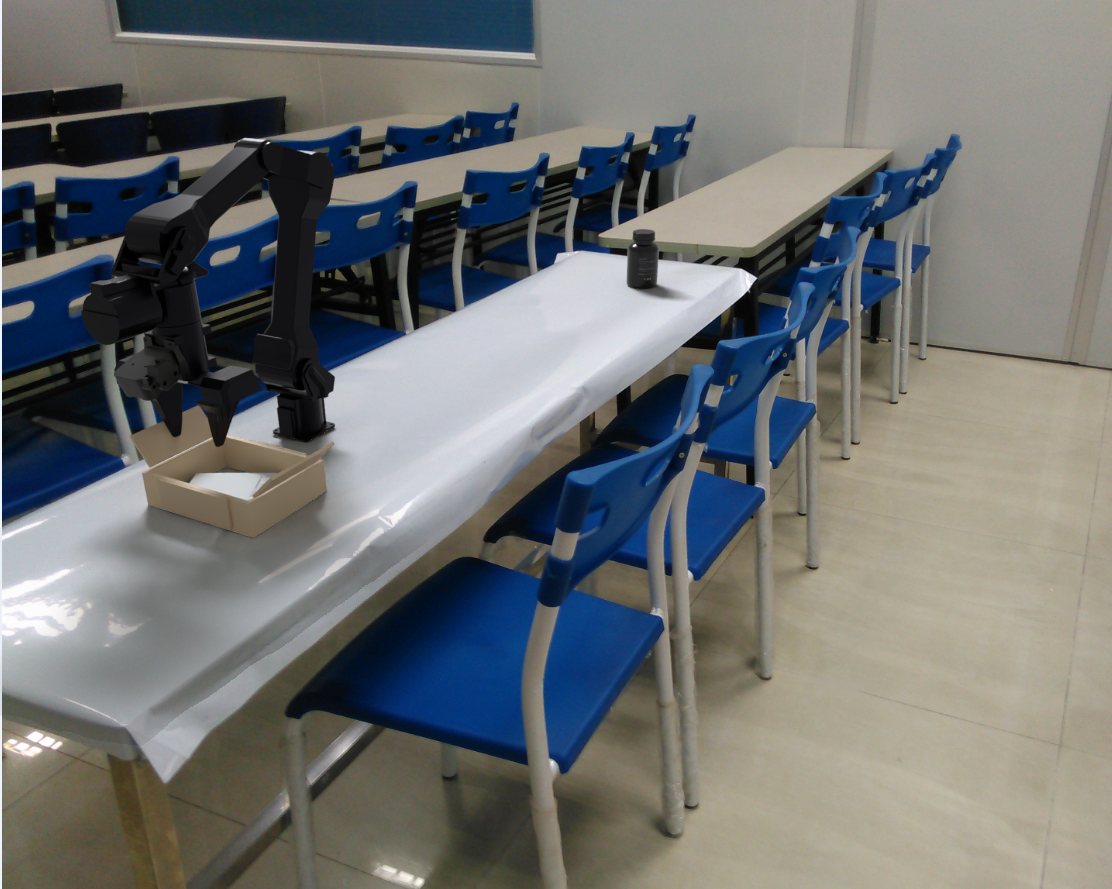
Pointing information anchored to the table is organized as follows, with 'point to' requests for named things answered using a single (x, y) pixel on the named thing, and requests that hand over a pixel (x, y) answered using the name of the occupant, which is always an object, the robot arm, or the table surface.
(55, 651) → the table surface
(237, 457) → the carton
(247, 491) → the external hard drive
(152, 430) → the flap
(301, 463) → the flap
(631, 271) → the supplement bottle
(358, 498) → the table surface
